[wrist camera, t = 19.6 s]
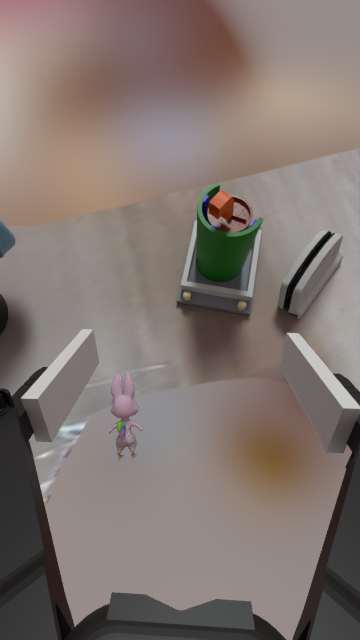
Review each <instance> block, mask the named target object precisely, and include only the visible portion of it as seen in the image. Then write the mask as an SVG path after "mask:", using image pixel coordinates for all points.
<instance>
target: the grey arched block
mask: <svg viewBox="0 0 360 640" xmlns="http://www.w3.org/2000/svg"><path fill="white" fill-rule="evenodd" d="M342 238H343V235H341V234H339V233H337V232H336V233H333V234H332V235H331V232H330V230H322V231H321V232H319V233H318V234H317V235H316V236H315V238H314V239H313V240H312V241H311V242H310V243H309V244H308V246H307V247H306V248H305V249H304V251H303V252H302V253H301V255H300V256H299V258H298V259H297V260H296V262H295V263H294V265H293V266H292V268H291V269H290V271H289V273H288V274H287V276H286V277H285V279H284V281H283V282H282V285H281V289H280V295H279V301H278V306H279V307H280V308H281V309H283V308H286V307H287V305H288V309H287V310H289V313H292V314H295V315H298V317H297V319H300V318H301V317H302V316H303V314H304V313H305V311H306V310H307V309H308V307H309V306H310V305H311V303H312V302H313V300H314V299H315V298H316V296H317V295H318V293H319V292H320V291H321V289H322V288H323V286H324V285H325V284H326V282H327V281H328V280H329V278H330V277H331V275H332V274H333V273H334V271H335V270H336V268H337V267H338V266H339V264H340V263H341V261H342V258H343V257H342V255H341V254H340V253H339V248H340V245H341V241H342Z"/></svg>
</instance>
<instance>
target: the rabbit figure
mask: <svg viewBox="0 0 360 640" xmlns="http://www.w3.org/2000/svg"><path fill="white" fill-rule="evenodd" d="M111 393H112V396H113V398H114V403H113V406H112V409H111V412H112V414H113V415H115V416H116V417H119V418H121V419H122V420H121V421H120V422H118V423H116V424H115V425H114V426H112V427H111V429H110V430H109V431H108V432H109V433H111V432H112V431H113V429H115V428H116V427H117V429H118V432H119V435H118V437H117V439H116V445H117V451H118V455H119V459H120V458H121V457H122V455H120V453H121V451H122V450H123V449H124V448H125V447H126V446H128V448H129V449H130V451H131V452H132V457H133V458H134V457H135V456H136V455H135V454H133V452H134V449H135V447H136V438H135V436H134V435H133V434H132V432H131V426H136V427H137V428H138V429H139V430H140V431H142V427H141V426H139V425H138V424H137V423H135V422H133V421H131V420H129V418H128V417H130V416H132V415H134V414H136V413H137V412H138V410H139V407H138V406H137V404H136V402H135V400H134V398H133V395H134V386H133V383H132V380H131V377H130V375H129V373H128V372H126V373H125V378H124V394H123V393H122V381H121V376H120V372H118V373H117V375H116V376H115V378H114V380H113V382H112V387H111Z"/></svg>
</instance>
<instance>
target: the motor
mask: <svg viewBox="0 0 360 640" xmlns="http://www.w3.org/2000/svg"><path fill="white" fill-rule="evenodd" d="M219 189H220V184H219V182H217V183H215V184H213V185H211V186H209V187H208V188H207V189H206V190H205V191H204V192H203V193H202V195H201V196H200V198H199V201H198V206H197V236H196V266H197V268H198V270H199V272H200V273H201V274H202V275H203V276H204V277H205V278H207V279H209V280H211V281H214V282H226V281H229V280H232V279H234V278H235V277H236V276H238V275H239V273H240V272H241V270H242V268H243V266H244V263H245V261H246V259H247V256H248V254H249V252H250V249H251V247H252V245H253V242H254V240H255V237H256V235H257V233H258V230H259V228H260V226H261V223H262V221H263V219H262V218H260V217H259V219H258V220H256V219H255V221H254V222H253V223H252V224H251V225H250V223H251V220H252V217H253V212H252V208H251V206H250V204H249V203H248V202H247V201H246V200H244V199H243V198H241V197H239V196H235V195H228V194H226V193H225V192H224V191H220V192H219ZM249 226H250V228H249Z"/></svg>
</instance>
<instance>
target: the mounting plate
mask: <svg viewBox="0 0 360 640" xmlns="http://www.w3.org/2000/svg"><path fill="white" fill-rule="evenodd" d="M251 224H252V223H251ZM249 228H250V226H249ZM261 233H262V227H260V228H259V230H258V233H257V235H256V237H255V240H254V242H253V245H252V247H251V249H250V252H249V254H248V256H247V259H246V261H245V263H244V266H243V268H242V270H241V272H240V273H239V275H238V276H236V277H235V278H234V279H232V280H229V281H226V282H214V281H211V280H209V279H207V278H205V277H204V276H203V275H202V274H201V273H200V272H199V270H198V268H197V266H196V236H197V218H195V220H194V224H193V229H192V233H191V238H190V242H189V247H188V251H187V256H186V260H185V265H184V269H183V274H182V278H181V283H180V287H179V292H178V296H177V303H183V304H189V305H194V306H200V307H205V308H211V309H217V310H222V311H228V312H233V313H239V314H245V315H249V314H250V311H251V304H252V297H253V290H254V283H255V276H256V269H257V261H258V254H259V247H260V240H261Z"/></svg>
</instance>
